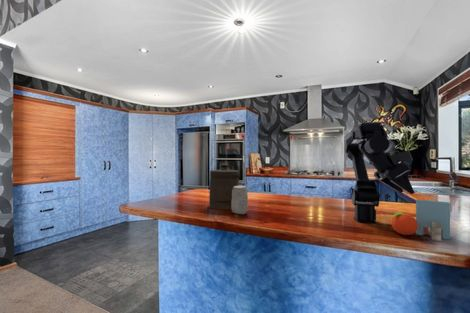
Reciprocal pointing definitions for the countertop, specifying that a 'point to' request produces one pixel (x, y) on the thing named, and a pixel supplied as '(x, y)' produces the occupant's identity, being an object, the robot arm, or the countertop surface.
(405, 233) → the clementine
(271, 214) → the countertop surface
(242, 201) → the carving
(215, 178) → the wooden container
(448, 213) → the teal slotted plate
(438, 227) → the birch slotted plate
